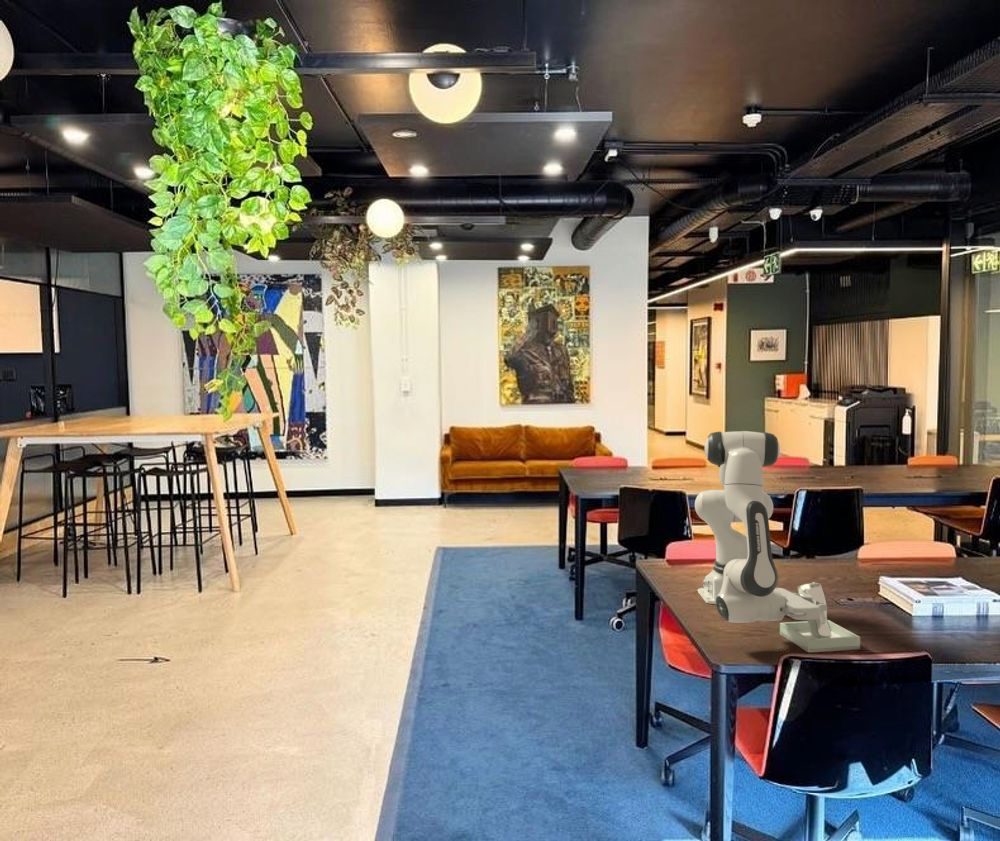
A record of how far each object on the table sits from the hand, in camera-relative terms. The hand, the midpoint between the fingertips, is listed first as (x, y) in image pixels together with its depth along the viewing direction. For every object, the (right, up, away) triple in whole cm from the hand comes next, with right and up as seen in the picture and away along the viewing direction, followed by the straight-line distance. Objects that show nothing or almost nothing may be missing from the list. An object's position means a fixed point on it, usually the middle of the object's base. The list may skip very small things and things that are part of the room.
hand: (815, 601), depth 211 cm
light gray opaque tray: (+1, -12, +1) cm, 12 cm away
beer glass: (+2, -10, 0) cm, 11 cm away
